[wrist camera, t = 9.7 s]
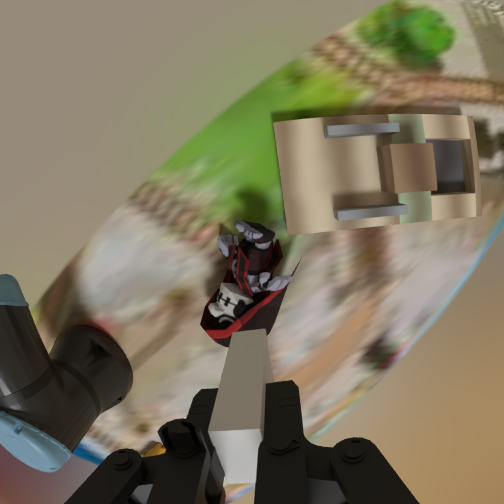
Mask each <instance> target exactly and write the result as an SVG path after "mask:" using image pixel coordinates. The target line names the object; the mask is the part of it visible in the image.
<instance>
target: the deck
mask: <svg viewBox="0 0 504 504" xmlns="http://www.w3.org/2000/svg"><path fill="white" fill-rule="evenodd" d="M273 125H274V132H275V139H276V146H277V153H278V160H279V168H280V176H281V183H282V191H283V199H284V207H285V216H286V224H287V233H288V236H290V235H299V234H308V233H317V232H326V231H336V230H345V229H355V228H364V227H374V226H384V225H393V224H403V223H413V222H423V221H434V220H444V219H455V218H465V217H476V216H482V205H481V184H480V171H479V160H478V151H477V142H476V135H475V128H474V122H473V116H462V115H440V114H372V115H349V116H333V117H320V118H309V119H298V120H289V121H280V122H273ZM406 143H433V151H434V159H435V169H436V180H437V191H422V192H408V193H390V192H384V191H381V184H380V174H379V165H378V157H377V149H376V148H378V147H381V146H385V145H388V144H406Z"/></svg>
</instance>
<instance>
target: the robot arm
mask: <svg viewBox="0 0 504 504" xmlns="http://www.w3.org/2000/svg"><path fill="white" fill-rule="evenodd" d="M28 306H29V304H28V303H27V302H26V300H25V298H24V296H23V294H22V291H21V289H20V286H19V284H18V282H17V280H16V279H15V278H14V277H13V276H11V275H9V274H1V275H0V444H2V445H3V446H4V447H5V448H6V449H7V450H8V451H9V452H10V453H11V454H13V455H14V456H15V457H16V458H18V459H19V460H21V461H22V462H24V463H25V464H27V465H29V466H31V467H33V468H35V469H37V470H40V471H45V472H54V471H57V470H58V469H60V467H61V466H62V465H63V464H64V463H65V462H66V460H67V459H68V458H70V457H71V456H72V453H73V452H74V450H75V449H76V447H77V446H78V444H79V443H80V441H81V440H82V439H83V437H84V436H85V434H86V433H87V431H88V430H89V428H90V427H91V426H92V424H93V423H94V421H95V420H96V419H97V417H98V416H99V415H100V414H101V413H103V412H105V411H107V410H108V409H110V408H112V407H114V406H115V405H117V404H119V403H120V402H122V401H123V400H124V398H125V397H126V396H127V394H128V393H129V391H130V389H131V387H132V382H133V376H132V370H131V367H130V364H129V362H128V360H127V358H126V356H125V355H124V353H123V352H122V350H121V349H120V348H119V346H118V345H117V344H116V343H115V342H114V341H113V340H112V339H111V338H109V337H108V336H107V335H105V334H104V333H102V332H101V331H99V330H97V329H95V328H92V327H89V326H85V325H75V326H72V327H69V328H68V329H66V330H65V331H64V332H63V333H61V334H60V335H59V336H58V337H57V339H56V341H55V343H54V345H53V347H52V349H51V351H50V353H49V355H48V352H47V350H46V348H45V346H44V344H43V342H42V339H41V337H40V335H39V333H38V330H37V328H36V325H35V323H34V320H33V318H32V315H31V313H30V310H29V308H28ZM158 434H159V437H160V439H161V441H162V443H163V445H164V447H165V449H166V451H165V453H163V454H159V455H154V456H148V457H141V455H140V454H139V452H137V451H135V450H133V449H127V448H126V449H119V450H117V451H114V452H112V453H111V454H110V455H109V456H107V457H106V459H105V460H104V461H103V462H102V463H101V464H100V465H99V466H98V467H97V468H96V470H95V471H94V472H93V473H92V474H91V475H90V476H89V477H88V478H87V480H86V481H85V482H84V483H83V484H82V485H81V486H80V487H79V488H78V489H77V490H76V491H75V493H74V494H73V495H72V496H71V497H70V498H69V499H68V500H67V501H66V502H65V503H64V504H225V497H226V495H225V490H224V487H223V481H224V476H225V478H226V481H227V483H228V484H240V483H256V485H255V498H254V504H419V502H418V501H417V500H416V499H415V497H414V496H413V494H411V492H410V491H409V489H408V488H407V487H406V485H405V484H404V483H403V482H402V480H401V479H400V477H399V476H398V475H397V473H396V472H395V471H394V469H393V468H392V467H391V466H390V464H389V463H388V462H387V460H386V459H385V457H384V456H383V455H382V454H381V452H380V451H379V449H378V448H377V447H376V445H375V444H373V443H372V442H371V441H370V440H367V439H364V438H357V437H353V438H348V439H344V440H342V441H340V442H339V443H337V444H336V445H335V446H334V447H333V448H332V447H322V446H317V445H315V444H312V443H311V442H309V441H308V440H307V439H306V438H305V436H304V433H303V423H302V413H301V404H300V396H299V388H298V386H297V385H296V384H295V383H294V382H293V381H292V380H289V381H281V382H273V371H272V365H271V359H270V353H269V347H268V341H267V335H266V330H265V329H257V330H249V331H240V332H233V333H232V337H231V341H230V345H229V349H228V353H227V357H226V361H225V365H224V369H223V373H222V377H221V381H220V385H219V388H214V389H201V390H200V391H199V392H198V393H197V394H196V395H195V396H194V398H193V401H192V404H191V408H190V409H189V412H188V415H187V418H186V419H175V420H172V421H169V422H167V423H166V424H164V425H163V426H161V427H160V429H159V430H158Z"/></svg>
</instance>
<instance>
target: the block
mask: <svg viewBox="0 0 504 504" xmlns="http://www.w3.org/2000/svg"><path fill="white" fill-rule="evenodd" d="M376 149H377V157H378V165H379V174H380V184H381V191H384V192H390V193H408V192H422V191H437V180H436V169H435V159H434V151H433V143H406V144H388V145H385V146H381V147H378V148H376Z"/></svg>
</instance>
